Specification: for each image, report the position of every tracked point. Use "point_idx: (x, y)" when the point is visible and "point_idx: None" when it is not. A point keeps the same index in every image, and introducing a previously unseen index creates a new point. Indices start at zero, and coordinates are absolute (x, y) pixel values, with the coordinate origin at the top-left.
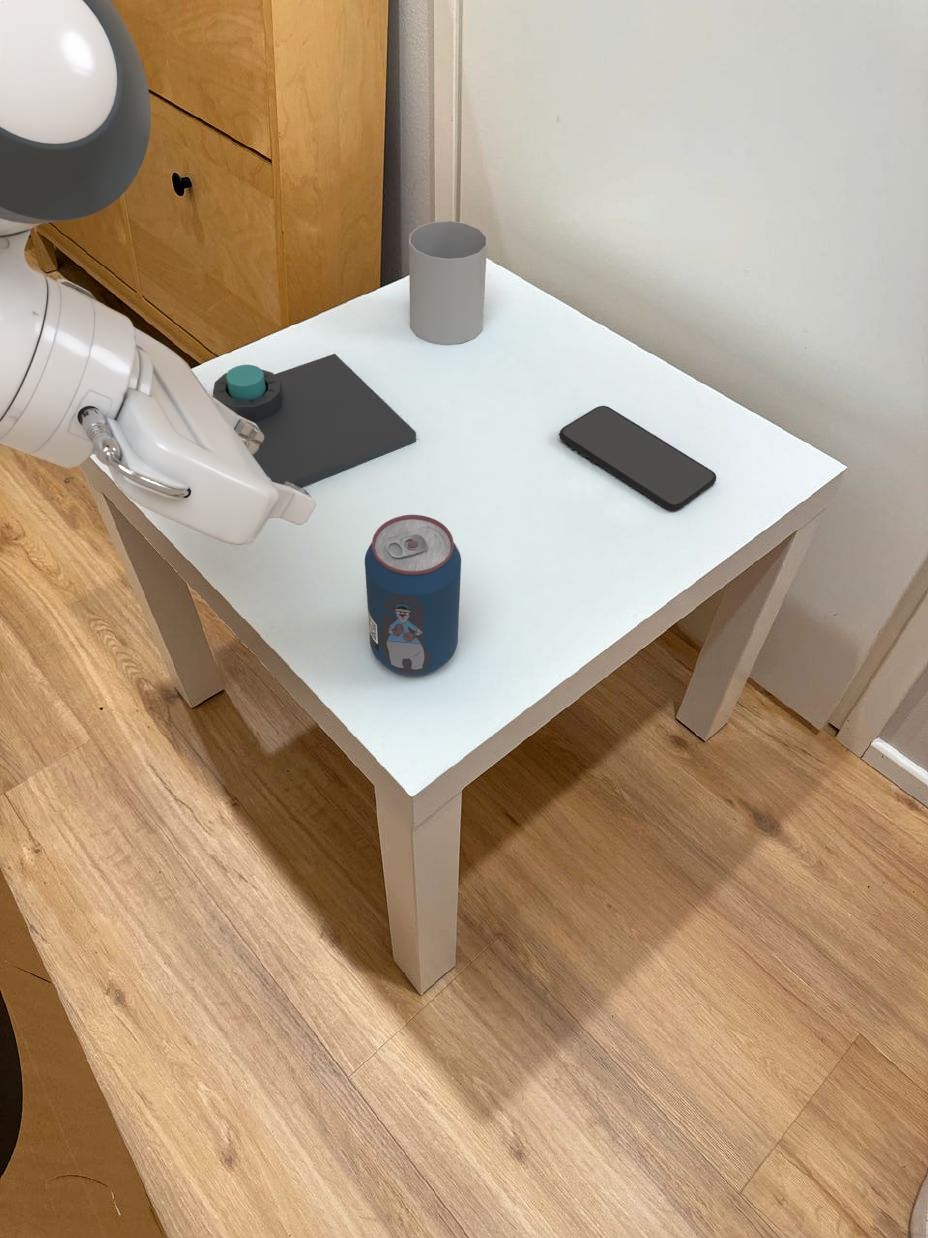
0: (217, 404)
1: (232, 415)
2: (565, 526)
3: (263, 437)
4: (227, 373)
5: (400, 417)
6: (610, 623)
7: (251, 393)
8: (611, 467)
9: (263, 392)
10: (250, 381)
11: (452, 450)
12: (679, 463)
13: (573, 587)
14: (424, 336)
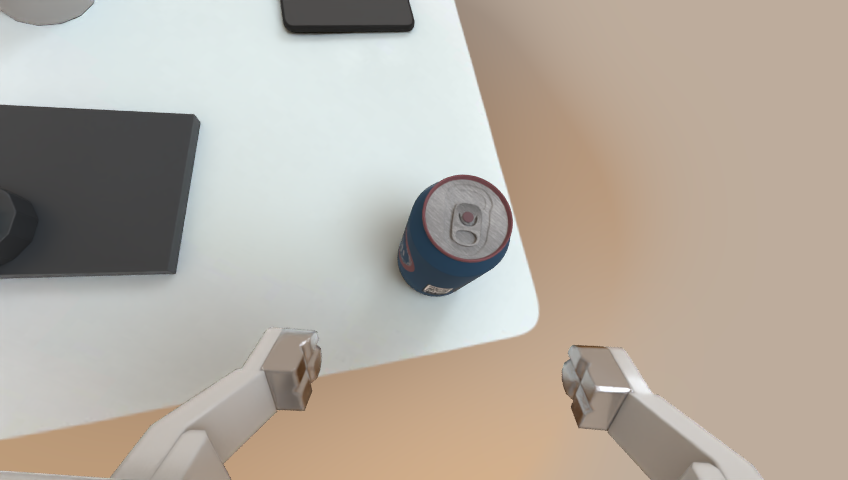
0: (199, 420)
1: (246, 386)
2: (380, 93)
3: (315, 332)
4: None
5: (161, 113)
6: (480, 130)
7: None
8: (350, 26)
9: None
10: None
11: (236, 104)
12: None
13: (438, 128)
14: (48, 20)
